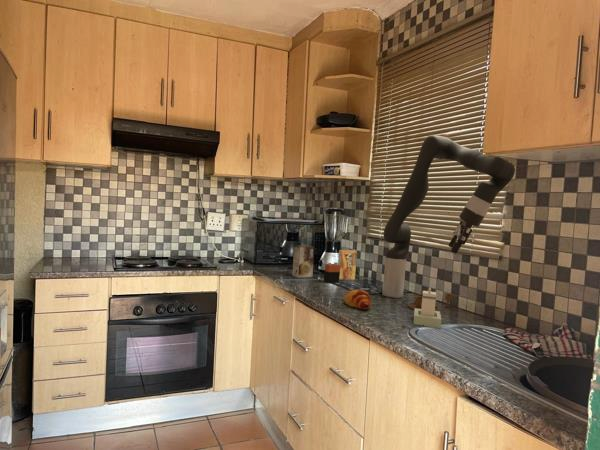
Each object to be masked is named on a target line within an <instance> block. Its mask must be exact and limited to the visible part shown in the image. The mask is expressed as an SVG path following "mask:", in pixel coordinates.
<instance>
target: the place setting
mask: <svg viewBox="0 0 600 450" xmlns="http://www.w3.org/2000/svg"><path fill="white" fill-rule="evenodd" d="M452 296H453V294H451V293H445V301H446V306H445V307H446V308H449V307H450V302H451V300H452ZM414 301H415V302H410V303H408V308H409V309H411V310H413V311H414V309H415V308H416V309H421V307H422V296H416V297H415V300H414ZM439 310H440V308H439V306H436V305H435V311H439Z"/></svg>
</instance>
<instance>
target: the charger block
mask: <svg viewBox="0 0 600 450" xmlns="http://www.w3.org/2000/svg"><path fill="white" fill-rule="evenodd" d="M421 294H422V296H421V297H422V307H421V315H426V316H434V313H435V306H436V303H437V301H436V300H437V293H436V291H432V288H431V287H428V290H422V293H421Z"/></svg>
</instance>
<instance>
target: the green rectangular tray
mask: <svg viewBox="0 0 600 450" xmlns="http://www.w3.org/2000/svg"><path fill="white" fill-rule="evenodd" d="M416 308H417V307H415V309H414V310H413V325H417V326H423V325H424V326H425V327H431V328H439V329H441V328H442V320H443V319H442V316H441V315H442V314H441V311H439V310H438V311H435V313H434V316H426V315H421V309H416ZM424 326H423V327H424Z"/></svg>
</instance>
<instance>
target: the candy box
mask: <svg viewBox="0 0 600 450" xmlns="http://www.w3.org/2000/svg"><path fill="white" fill-rule="evenodd" d="M357 256H358V251H357V250H353V249H351V250H349V249H339V251H338V258H337V259H338V261H337V263H338V265H340V277H339V280H353V281H354V280H355V278H356V267H357Z"/></svg>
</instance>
